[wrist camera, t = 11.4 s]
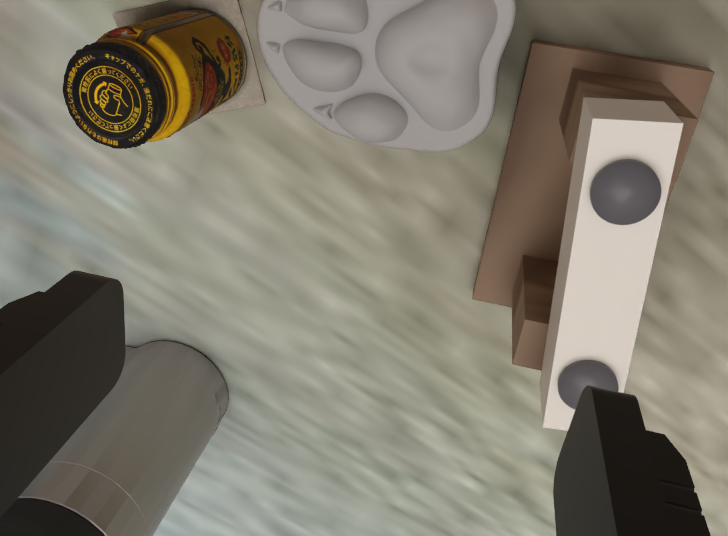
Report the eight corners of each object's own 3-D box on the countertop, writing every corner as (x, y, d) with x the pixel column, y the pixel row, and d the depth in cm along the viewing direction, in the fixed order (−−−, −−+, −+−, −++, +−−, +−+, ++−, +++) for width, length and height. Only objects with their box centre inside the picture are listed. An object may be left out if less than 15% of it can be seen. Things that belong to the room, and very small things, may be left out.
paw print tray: (485, 132, 42) (480, 176, 35) (286, 94, 44) (239, 128, 36) (527, -49, 38) (531, -44, 30) (301, -85, 39) (251, -89, 31)
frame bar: (583, 97, 31) (593, 120, 27) (663, 101, 31) (685, 125, 27) (539, 381, 38) (542, 432, 34) (604, 389, 38) (614, 441, 34)
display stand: (473, 290, 47) (464, 368, 39) (532, 39, 40) (538, 69, 31) (618, 320, 46) (642, 407, 38) (708, 68, 38) (764, 107, 30)
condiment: (266, 102, 44) (190, 156, 34) (152, 123, 47) (48, 180, 36) (234, -16, 41) (140, 3, 31) (115, 13, 44) (-11, 39, 33)
